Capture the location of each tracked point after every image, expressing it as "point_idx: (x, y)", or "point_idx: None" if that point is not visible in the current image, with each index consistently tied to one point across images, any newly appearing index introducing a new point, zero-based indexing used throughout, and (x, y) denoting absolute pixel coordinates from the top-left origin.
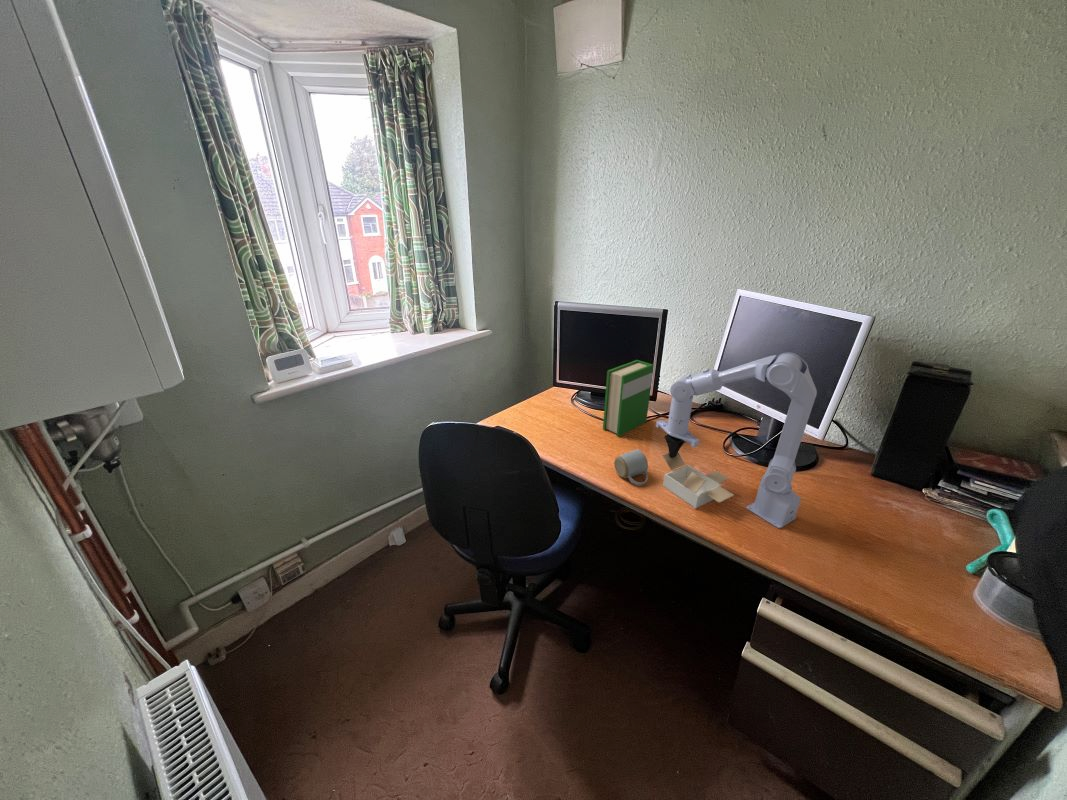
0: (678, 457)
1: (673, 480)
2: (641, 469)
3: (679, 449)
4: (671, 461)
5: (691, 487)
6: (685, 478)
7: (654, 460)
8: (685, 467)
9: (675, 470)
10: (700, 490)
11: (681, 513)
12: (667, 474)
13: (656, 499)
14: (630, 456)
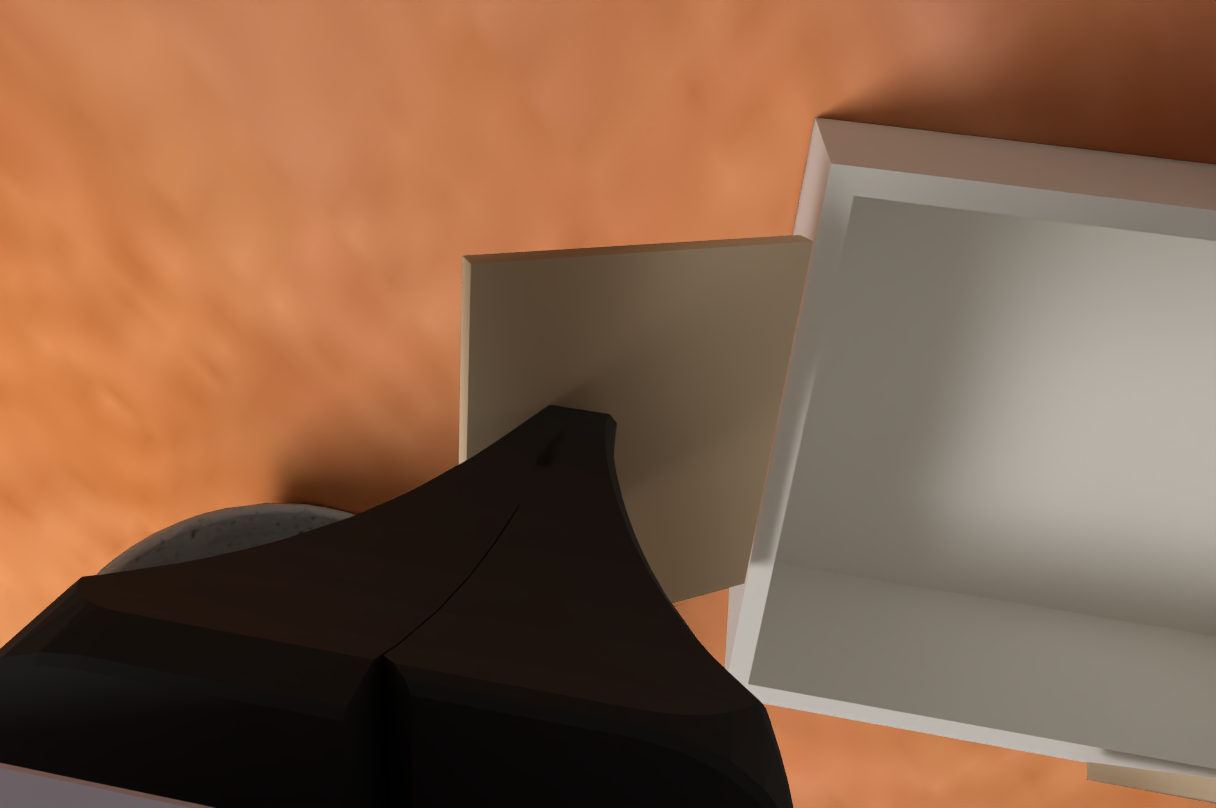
0: (639, 328)
1: (902, 722)
2: None
3: (623, 503)
4: (633, 528)
5: None
6: (860, 206)
7: (237, 144)
8: (837, 259)
9: (777, 510)
10: (1200, 302)
11: (1160, 796)
12: (751, 668)
13: (827, 777)
14: None
